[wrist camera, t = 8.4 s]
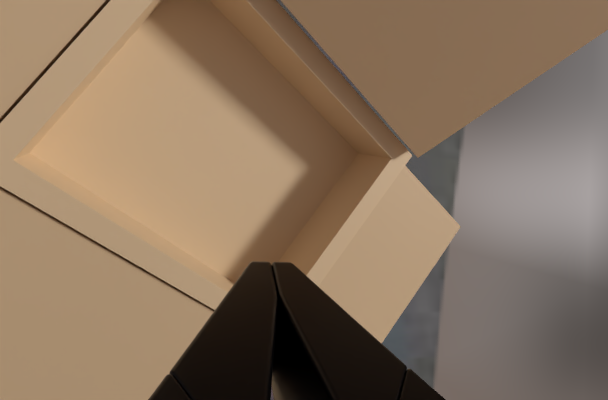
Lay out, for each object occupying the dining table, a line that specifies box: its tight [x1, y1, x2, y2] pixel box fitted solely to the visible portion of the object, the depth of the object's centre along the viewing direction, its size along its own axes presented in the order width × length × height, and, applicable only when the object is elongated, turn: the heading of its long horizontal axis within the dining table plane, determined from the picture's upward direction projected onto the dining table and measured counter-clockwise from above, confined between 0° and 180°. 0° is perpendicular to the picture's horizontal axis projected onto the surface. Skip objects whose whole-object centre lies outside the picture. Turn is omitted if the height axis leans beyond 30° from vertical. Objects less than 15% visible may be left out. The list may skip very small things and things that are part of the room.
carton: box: [0, 0, 460, 400], centre depth 15 cm, size 16×22×3 cm
